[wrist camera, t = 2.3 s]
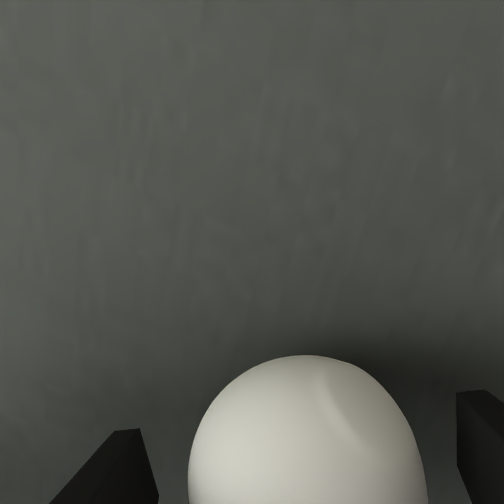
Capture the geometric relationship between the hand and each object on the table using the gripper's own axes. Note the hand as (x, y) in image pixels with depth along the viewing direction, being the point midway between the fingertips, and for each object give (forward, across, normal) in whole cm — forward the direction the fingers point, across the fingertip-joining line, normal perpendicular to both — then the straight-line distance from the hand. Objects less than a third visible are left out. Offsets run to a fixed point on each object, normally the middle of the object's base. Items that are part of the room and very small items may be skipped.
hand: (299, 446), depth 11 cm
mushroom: (+2, 0, 0) cm, 2 cm away
